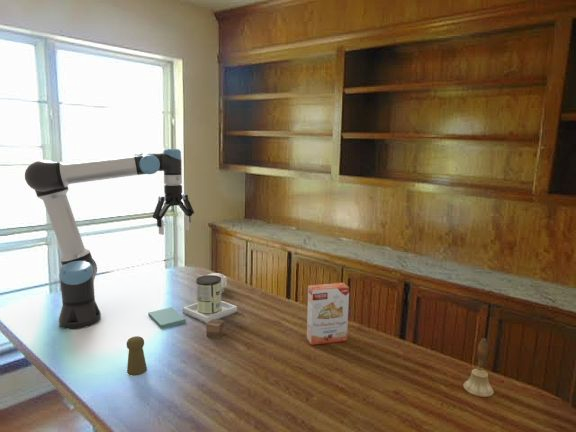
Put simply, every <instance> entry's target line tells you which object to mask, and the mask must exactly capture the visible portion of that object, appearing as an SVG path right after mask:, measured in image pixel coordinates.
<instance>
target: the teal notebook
mask: <svg viewBox="0 0 576 432" xmlns="http://www.w3.org/2000/svg"><path fill="white" fill-rule="evenodd" d="M147 314H148V317H149V319H151V320H152V321H153V322H154V323H155V324H156V325H157V327H158V328H160V329H161V330H162V329H165V328H169V327H174V326H178V325H180V324H185V322H186V318H185V317H184V316H183V315H182V314H180V313H179V312H178V311H176V309H174V308H173V307H166V308H162V309H159V310H153V311H150V312H147ZM186 323H187V322H186Z"/></svg>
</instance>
